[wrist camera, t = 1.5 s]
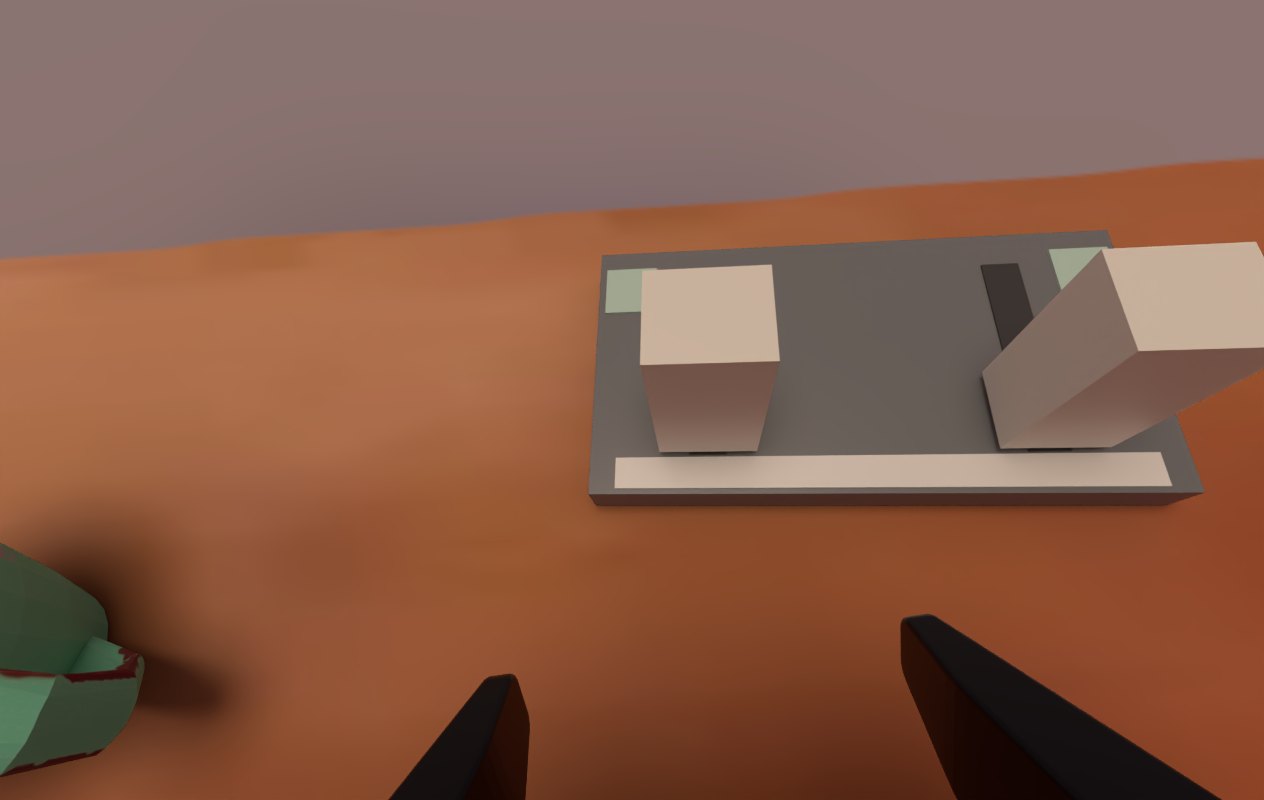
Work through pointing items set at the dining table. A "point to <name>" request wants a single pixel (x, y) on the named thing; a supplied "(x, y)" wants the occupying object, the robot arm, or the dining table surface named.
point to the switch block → (874, 385)
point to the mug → (57, 670)
